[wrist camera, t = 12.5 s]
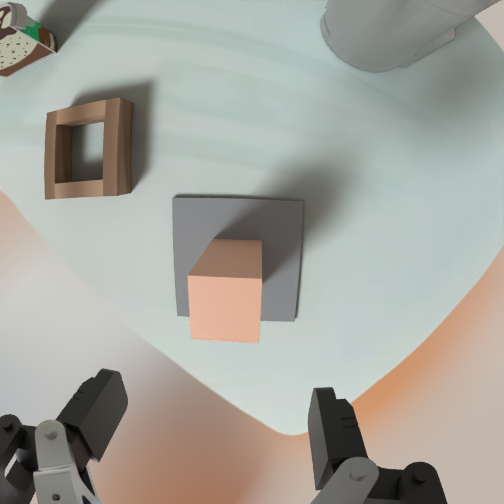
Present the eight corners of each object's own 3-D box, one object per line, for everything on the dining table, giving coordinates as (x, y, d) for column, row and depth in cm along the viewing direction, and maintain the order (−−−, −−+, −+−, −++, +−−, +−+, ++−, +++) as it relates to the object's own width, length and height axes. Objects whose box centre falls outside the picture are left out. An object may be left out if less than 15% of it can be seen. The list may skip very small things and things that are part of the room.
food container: (73, 10, 21) (28, -21, 11) (66, 48, 22) (13, 23, 13) (8, 44, 21) (-37, 30, 11) (2, 81, 23) (-49, 72, 13)
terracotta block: (261, 240, 27) (262, 278, 18) (259, 286, 28) (259, 342, 19) (212, 238, 27) (187, 275, 18) (213, 284, 29) (191, 338, 19)
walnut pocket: (133, 103, 24) (120, 97, 21) (130, 192, 27) (117, 195, 24) (63, 116, 25) (47, 113, 22) (61, 196, 27) (45, 199, 24)
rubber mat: (303, 201, 27) (304, 201, 26) (294, 319, 30) (294, 321, 29) (173, 197, 27) (172, 197, 26) (178, 314, 30) (177, 315, 30)
